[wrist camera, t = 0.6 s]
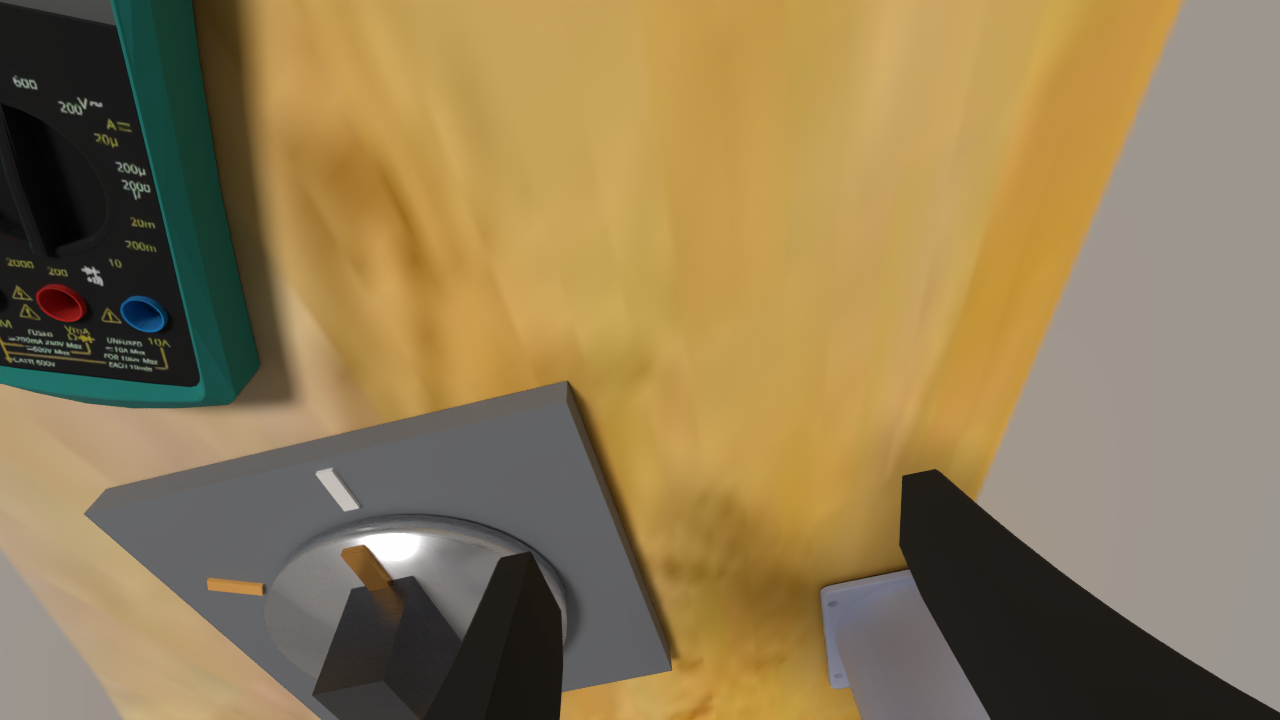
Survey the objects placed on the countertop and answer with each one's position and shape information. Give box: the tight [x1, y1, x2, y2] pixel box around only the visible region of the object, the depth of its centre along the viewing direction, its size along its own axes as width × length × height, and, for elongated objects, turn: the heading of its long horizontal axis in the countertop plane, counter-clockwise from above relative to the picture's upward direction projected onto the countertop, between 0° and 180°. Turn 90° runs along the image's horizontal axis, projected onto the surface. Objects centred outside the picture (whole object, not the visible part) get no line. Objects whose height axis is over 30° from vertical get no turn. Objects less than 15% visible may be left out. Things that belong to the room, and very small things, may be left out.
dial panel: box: [84, 381, 672, 720], centre depth 26 cm, size 18×18×1 cm
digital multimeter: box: [0, 0, 260, 408], centre depth 15 cm, size 7×15×3 cm, turn 168°
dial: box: [264, 515, 568, 720], centre depth 24 cm, size 12×12×5 cm
